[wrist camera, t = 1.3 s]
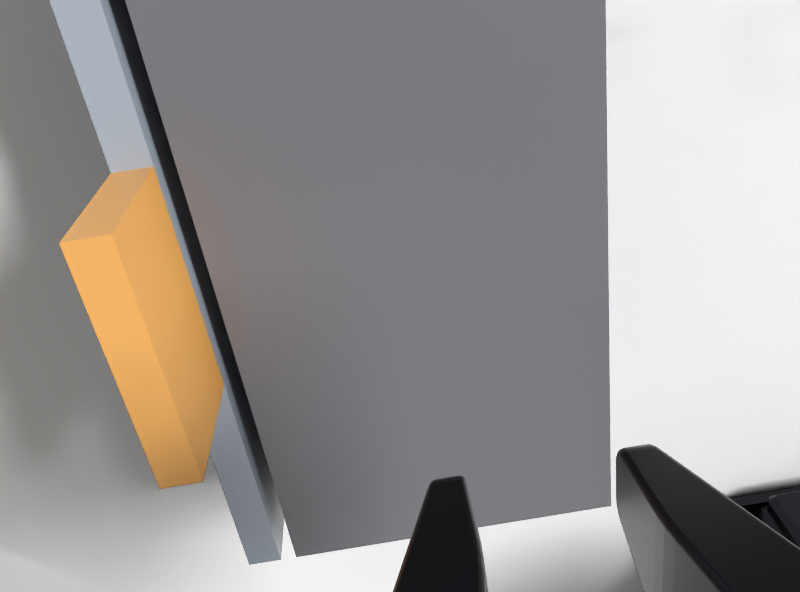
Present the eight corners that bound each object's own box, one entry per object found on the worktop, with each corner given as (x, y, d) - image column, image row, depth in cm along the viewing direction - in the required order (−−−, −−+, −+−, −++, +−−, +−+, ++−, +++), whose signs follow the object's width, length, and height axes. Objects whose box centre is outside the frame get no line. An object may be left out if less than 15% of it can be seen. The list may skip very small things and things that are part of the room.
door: (293, 437, 23) (277, 668, 16) (261, 442, 23) (231, 674, 16) (123, -171, 15) (-41, -203, 9) (75, -163, 15) (-129, -189, 9)
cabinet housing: (559, 387, 23) (610, 505, 19) (303, 429, 23) (296, 556, 19) (523, -312, 15) (601, -388, 11) (122, -244, 15) (35, -291, 11)
